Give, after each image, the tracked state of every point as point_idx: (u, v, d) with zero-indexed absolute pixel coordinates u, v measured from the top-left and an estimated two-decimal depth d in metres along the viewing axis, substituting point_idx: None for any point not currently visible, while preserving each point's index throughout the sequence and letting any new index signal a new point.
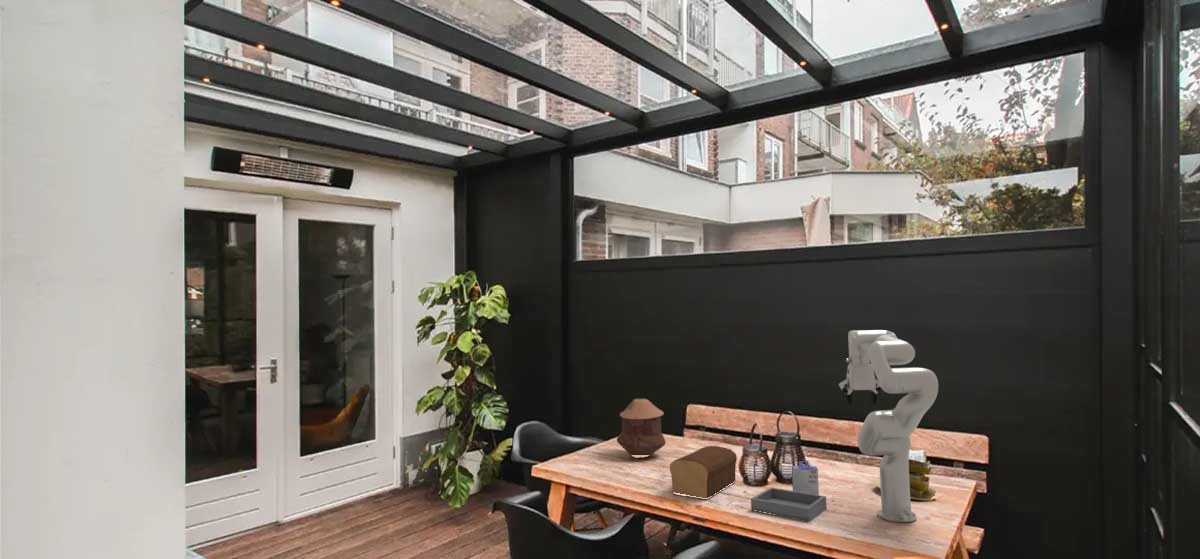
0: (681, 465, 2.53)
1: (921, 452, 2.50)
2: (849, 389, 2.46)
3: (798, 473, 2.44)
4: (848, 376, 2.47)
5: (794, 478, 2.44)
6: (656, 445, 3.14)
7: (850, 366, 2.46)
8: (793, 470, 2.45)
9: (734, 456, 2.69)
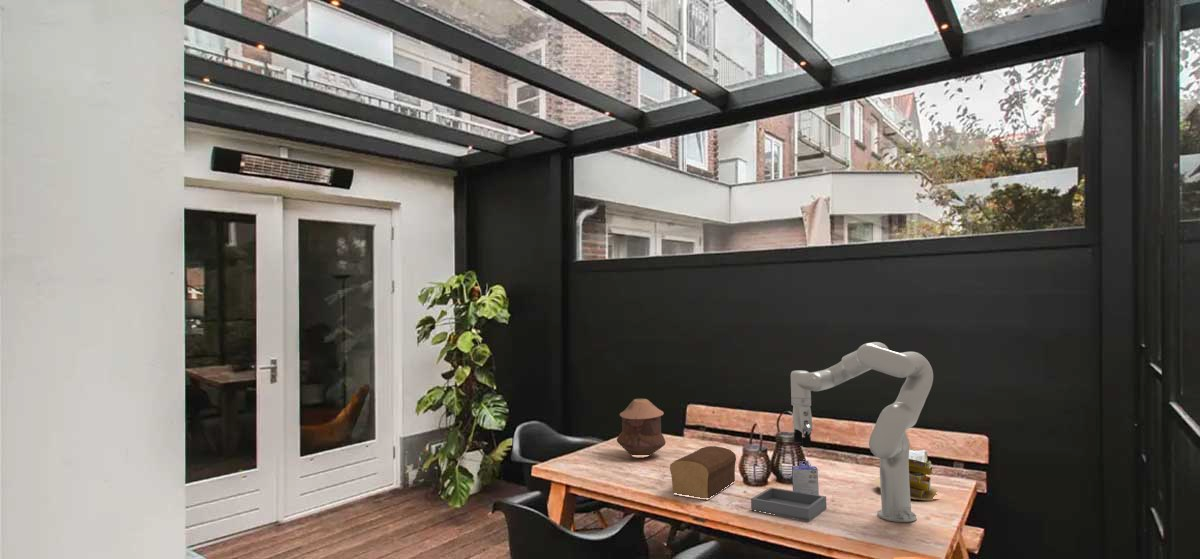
0: (681, 465, 2.52)
1: (922, 452, 2.50)
2: None
3: (798, 473, 2.44)
4: (807, 418, 2.42)
5: (794, 478, 2.44)
6: (656, 445, 3.14)
7: (808, 408, 2.43)
8: (793, 470, 2.45)
9: (733, 456, 2.69)
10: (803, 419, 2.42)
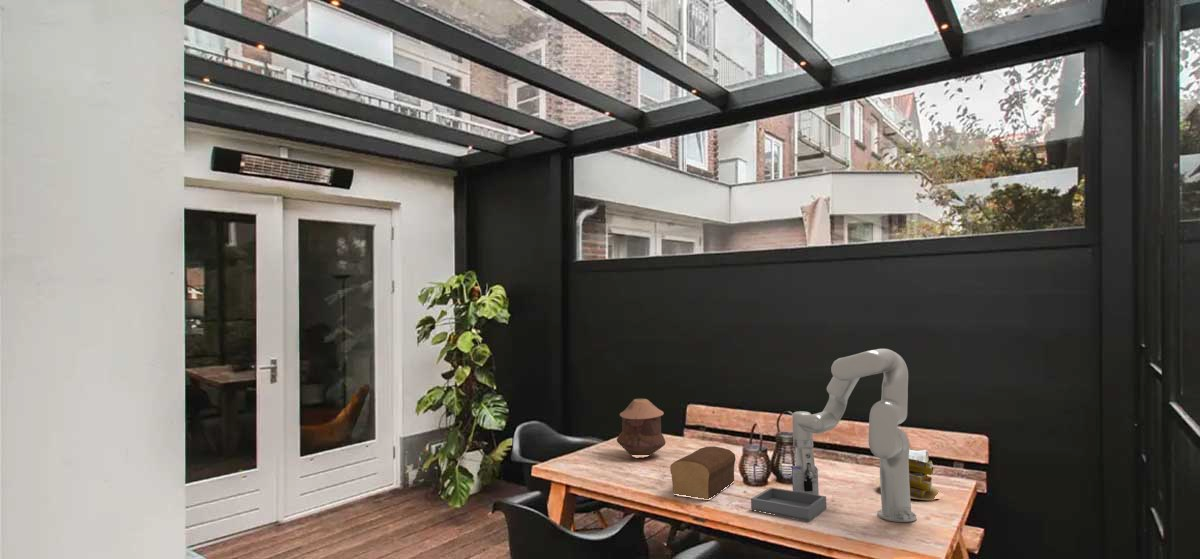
0: (682, 466, 2.51)
1: (923, 452, 2.50)
2: None
3: (798, 473, 2.44)
4: (809, 461, 2.41)
5: (794, 478, 2.44)
6: (656, 445, 3.14)
7: (811, 450, 2.42)
8: (793, 470, 2.45)
9: (733, 456, 2.68)
10: (805, 461, 2.41)
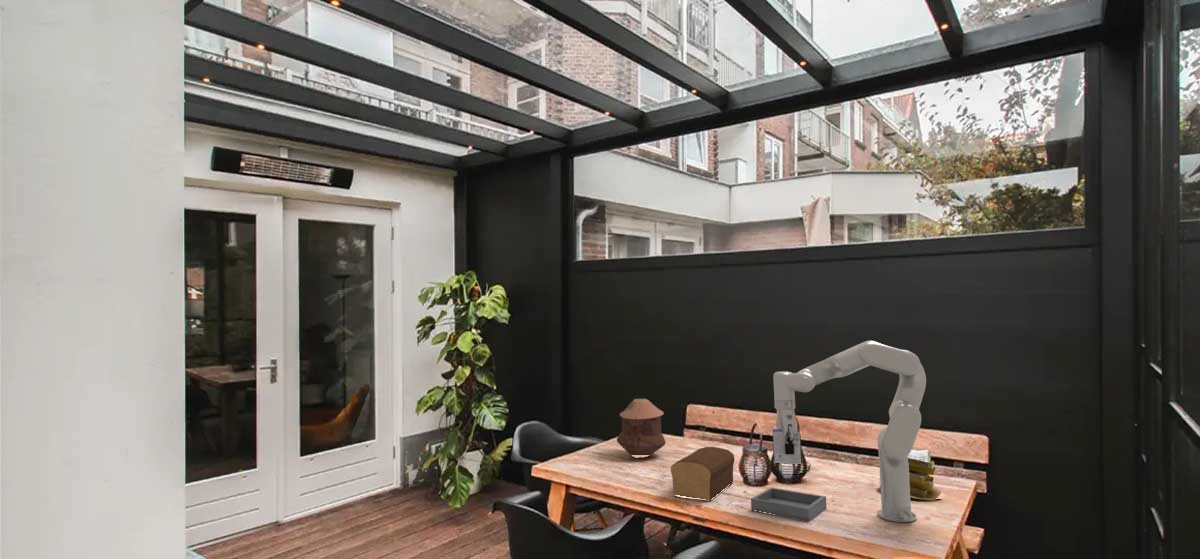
0: (682, 467, 2.50)
1: (925, 452, 2.50)
2: None
3: (779, 436, 2.32)
4: (790, 422, 2.30)
5: (775, 441, 2.32)
6: (656, 445, 3.14)
7: (792, 411, 2.30)
8: (774, 432, 2.33)
9: (732, 457, 2.68)
10: (787, 423, 2.30)
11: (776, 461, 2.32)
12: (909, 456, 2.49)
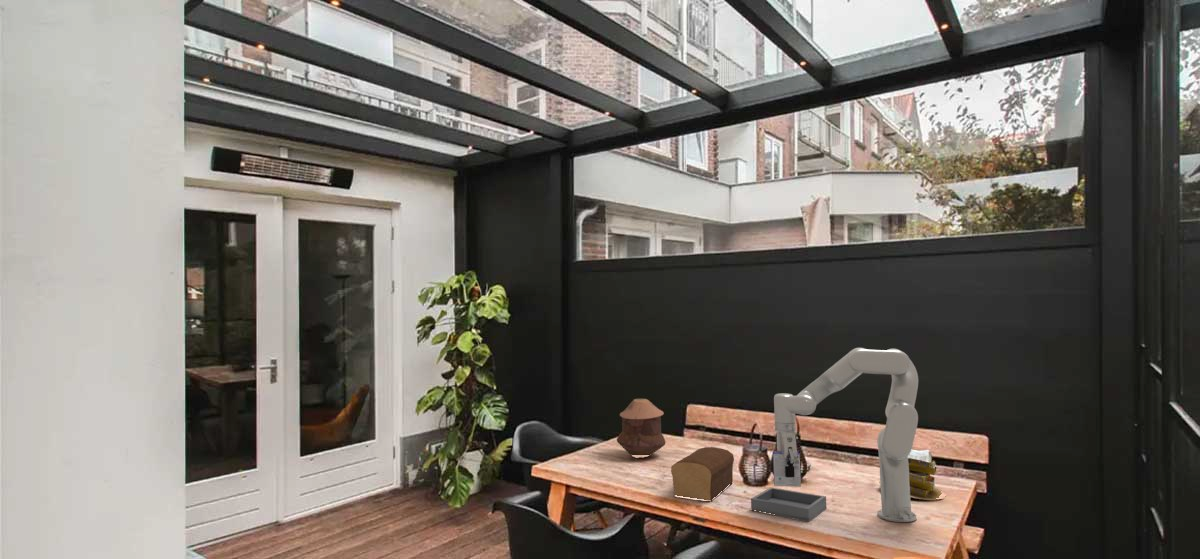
0: (683, 467, 2.49)
1: (926, 452, 2.50)
2: None
3: (779, 458, 2.31)
4: (791, 445, 2.29)
5: (775, 463, 2.32)
6: (656, 445, 3.14)
7: (793, 433, 2.30)
8: (774, 455, 2.32)
9: (732, 457, 2.68)
10: (787, 445, 2.29)
11: (776, 484, 2.31)
12: (910, 456, 2.49)
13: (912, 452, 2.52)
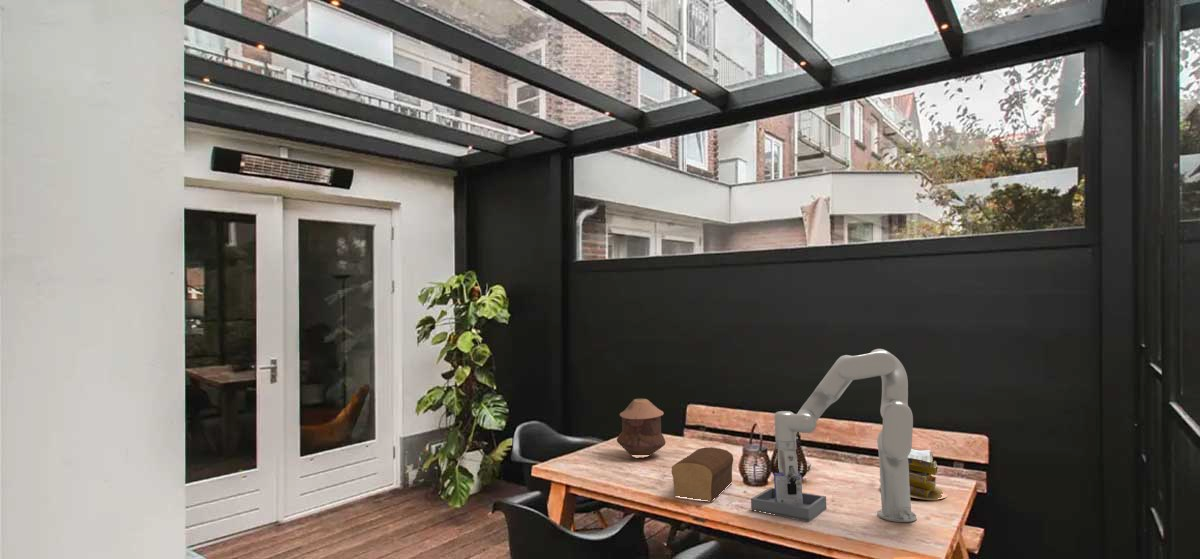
0: (684, 468, 2.49)
1: (927, 452, 2.50)
2: None
3: (781, 480, 2.31)
4: (792, 463, 2.28)
5: (777, 485, 2.31)
6: (656, 445, 3.14)
7: (793, 452, 2.29)
8: (776, 477, 2.31)
9: (731, 457, 2.67)
10: (788, 464, 2.28)
11: None
12: (911, 456, 2.49)
13: (913, 452, 2.52)
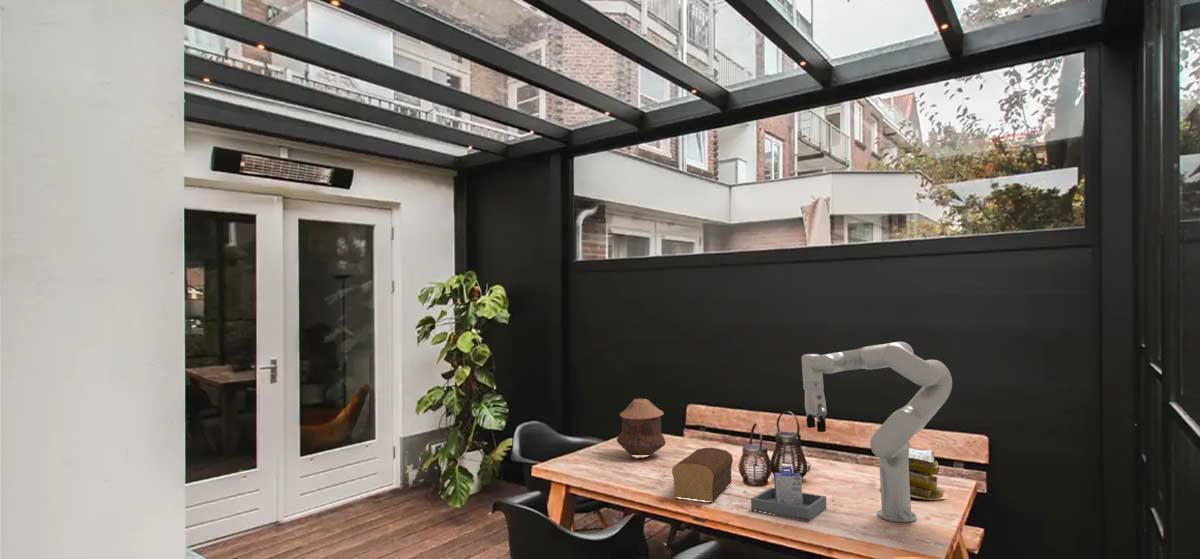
0: (684, 468, 2.48)
1: (929, 452, 2.50)
2: None
3: (781, 480, 2.31)
4: (820, 402, 2.37)
5: (777, 485, 2.31)
6: (656, 445, 3.14)
7: (822, 391, 2.38)
8: (776, 477, 2.31)
9: (731, 457, 2.67)
10: (817, 403, 2.37)
11: None
12: (913, 456, 2.49)
13: (915, 452, 2.52)
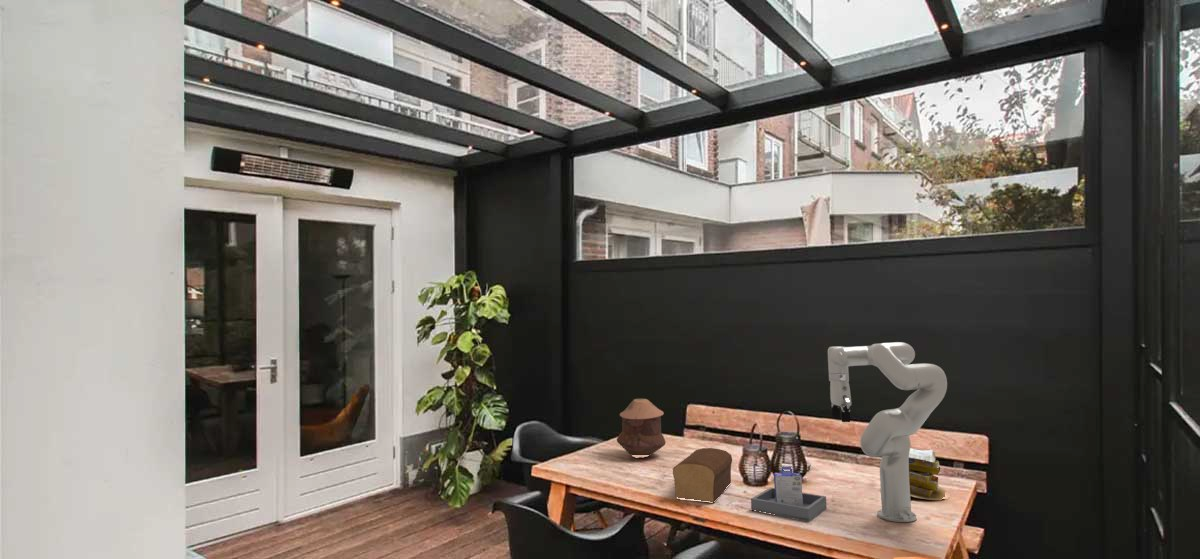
0: (685, 469, 2.47)
1: (930, 452, 2.50)
2: None
3: (781, 480, 2.31)
4: (845, 393, 2.44)
5: (777, 485, 2.31)
6: (656, 445, 3.14)
7: (847, 383, 2.45)
8: (776, 477, 2.31)
9: (730, 457, 2.67)
10: (842, 394, 2.44)
11: None
12: (914, 456, 2.49)
13: (916, 452, 2.52)
